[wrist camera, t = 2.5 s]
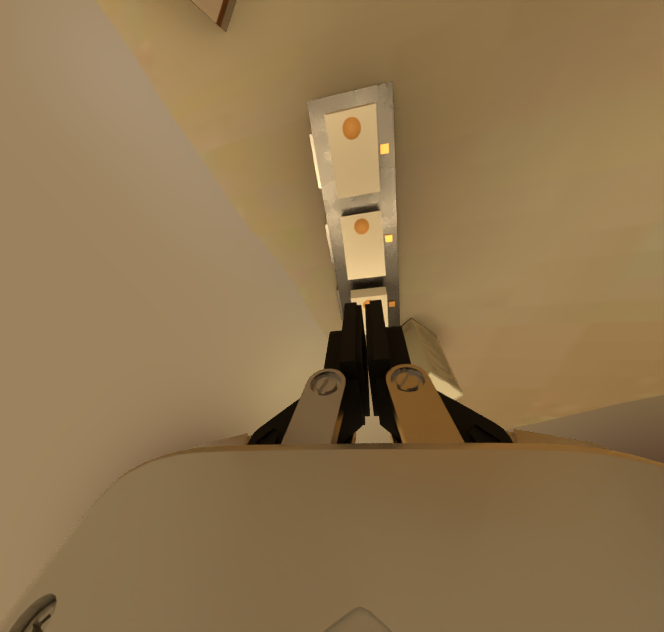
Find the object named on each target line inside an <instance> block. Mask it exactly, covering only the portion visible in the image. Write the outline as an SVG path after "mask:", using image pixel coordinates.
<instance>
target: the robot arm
mask: <svg viewBox="0 0 664 632" xmlns="http://www.w3.org/2000/svg"><path fill="white" fill-rule="evenodd" d="M369 303H370V304H365V317H366V339H365V330H364V322H363V314H362V306H361V305H357V302H352V303H345V305H344V316H343V326H342V331H332V332H330V335H329V341H328V347H327V353H326V360H325V365H324V369H323V370H319V371H317V372H316V373H314V374H313V375H312V376H311V377H310V378H309V379H308V381H307V383H306V385H305V388H304V390H303V393H302V395H301V397H300V399H299V400H297V401H296V402H294V403H293V404H291V405H290V406H289V407H287V408H286V409H285V410H283V411H282V412H280V413H279V414H278V415H276V416H275V417H274V418H272V419H271V420H270V421H268V422H267V423H266V424H264V425H263V426H262V427H260V428H259V429H258V430H257V431H256V432H254V434H253V435H251V436H248V434H247V433H246V434H242V435H238V436H234V437H230V438H226V439H221V440H217V441H213V442H209V443H205V444H201V445H197V446H194V447H192V448H190V449H187V450H181V451H177V452H173V453H169V454H166V455H163V456H160V457H157V458H155V459H152V460H149V461H147V462H145V463H143V464H140V465H138V466H136V467H135V468H133V469H131V470H129V471H127V472H126V473H125V474H123V475H122V476H120V477H119V478H118V479H117V480H116V481H115V482H113V483H112V484H111V485H110V486H109V487H108V488H107V489H106V490H105V491H104V492H103V493H102V495H101V496H100V497H99V498H98V499H97V500H96V501H95V502H94V504H93V505H92V506H91V507H90V508H89V509H88V511H87V512H86V513H85V514H84V515H83V517H82V518H81V519H80V520H79V522H78V523H77V524H76V525H75V527H74V528H73V529H72V530H71V531H70V533H69V534H68V535H67V536H66V538H65V539H64V540H63V541H62V543H61V544H60V545H59V546H58V548H57V549H56V551H55V552H54V553H53V554H52V556H51V557H50V558H49V560H48V561H47V562H46V563H45V565H44V566H43V567H42V569H41V570H40V571H39V573H38V574H37V575H36V577H35V578H34V579H33V580H32V582H31V583H30V584H29V586H28V587H27V588H26V589H25V591H24V592H23V594H22V595H21V596H20V597H19V599H18V600H17V601H16V603H15V604H14V606H13V607H12V608H11V609H10V611H9V612H8V613H7V615H6V616H5V618H4V619H3V620H2V622H1V623H0V632H664V464H663V463H660V462H656V461H653V460H649V459H645V458H641V457H638V456H635V455H631V454H627V453H621V452H616V451H612V450H611V449H608V448H607V447H605V446H603V445H599V444H596V443H593V442H588V441H582V440H576V439H570V438H564V437H558V436H552V435H546V434H541V433H535V432H529V431H522V430H517V429H514V431H513V432H508V431H505V430H504V429H503V428H501V427H500V426H498V425H497V424H496V423H494V422H492V421H490V420H489V419H487V418H485V417H483V416H482V415H480V414H478V413H476V412H474V411H473V410H471V409H469V408H467V407H466V406H464V405H462V404H460V403H459V402H457V401H455V400H453V399H451V398H450V397H448V396H446V395H444V394H443V393H441V392H439V391H437V390H436V388H435V386H434V385H433V383H432V381H431V379H430V377H429V375H428V374H427V373H426V371H424V370H423V369H422V368H420V367H418V366H415V365H411V361H410V357H409V353H408V349H407V345H406V341H405V337H404V333H403V329H402V326H392V327H385V321H384V314H383V308H382V301H381V300H371V301H369ZM366 342H367V347H366ZM368 371H369V379H370V387H371V395H372V402H373V411H374V416H379V419H380V425H381V426H383V427H384V428H385V429H386V430H387V431H389V432H390V438H391V441H392V443H376V444H375V443H371V444H369V443H368V444H367V443H363V444H362V443H361V444H355V441H356V431H357V430H358V429H359V428H360V427H361V426H362V425H365V416H370V408H369V382H368Z"/></svg>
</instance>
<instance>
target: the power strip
mask: <svg viewBox="0 0 664 632" xmlns="http://www.w3.org/2000/svg"><path fill="white" fill-rule="evenodd" d="M372 102H375V103H376V115H377V136H378V158H379V179H380V192H375V193H370V194H364V195H358V196H352V197H346V198H340V199H338V198H337V192H336V186H335V179H334V173H333V167H332V161H331V154H330V148H329V142H328V136H327V129H326V123H325V117H324V115H325V113H328V112H333V111H337V110H341V109H346V108H350V107H355V106H359V105H363V104H368V103H372ZM307 106H308V112H309V118H310V124H311V130H312V134H311V135H310V141H311V147H312V152H313V158H314V164H315V170H316V175H317V181H318V187H319V188H321V189H322V195H323V201H324V207H325V212H326V218H327V222H326V224H325V227H326V233H327V239H328V244H329V250H330V256H331V262H332V263H334V266H335V272H336V278H337V284H338V285H337V296H338V302H339V308H340V313H341V319H342V320H343V316H344V305H345V303H351V290H359V289H368V288H377V287H386V292H387V307H388V327H392V326H400V315H399V281H398V248H397V214H396V181H395V147H394V114H393V81H391V82H387V83H382V84H378V85H374V86H370V87H366V88H362V89H357V90H353V91H349V92H345V93H341V94H336V95H332V96H328V97H324V98H320V99H315V100H311V101H307ZM375 211H381V214H382V228H383V242H384V256H385V270H386V276H379V277H370V278H361V279H353V280H348V276H347V268H346V260H345V252H344V244H343V236H342V228H341V220H340V217H343V216H350V215H356V214H362V213H369V212H375Z"/></svg>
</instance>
